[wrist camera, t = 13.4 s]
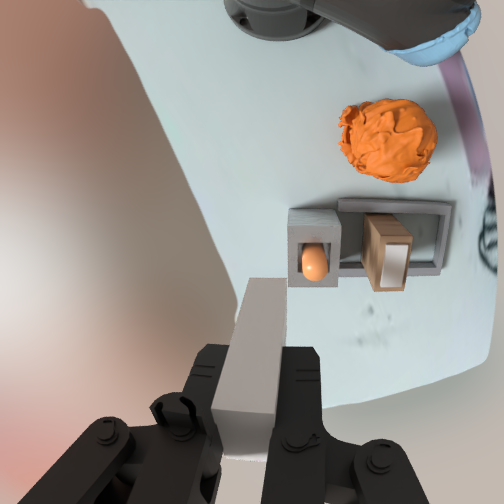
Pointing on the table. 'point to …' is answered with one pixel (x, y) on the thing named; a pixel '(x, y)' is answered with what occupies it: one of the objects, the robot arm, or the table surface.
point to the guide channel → (401, 207)
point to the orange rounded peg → (314, 261)
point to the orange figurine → (388, 139)
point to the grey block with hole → (313, 231)
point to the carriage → (385, 251)
